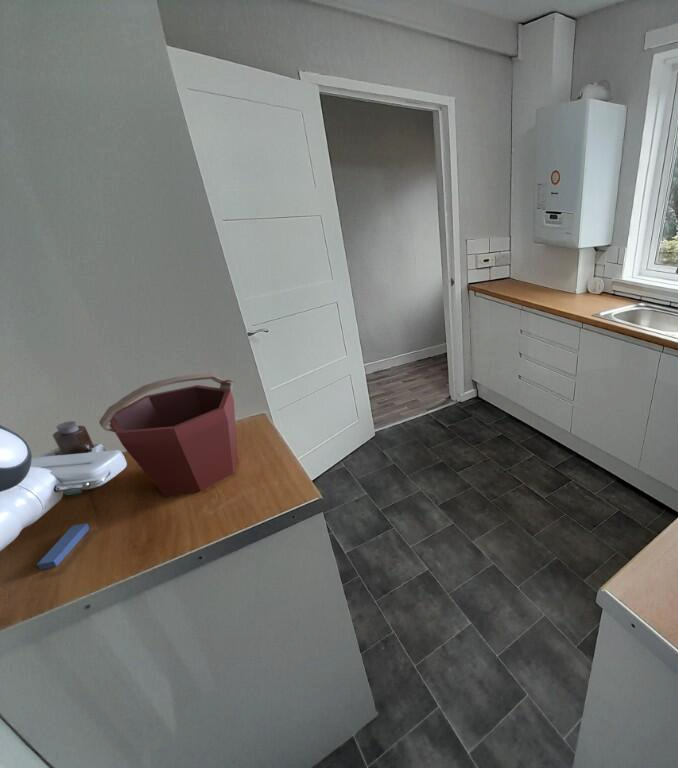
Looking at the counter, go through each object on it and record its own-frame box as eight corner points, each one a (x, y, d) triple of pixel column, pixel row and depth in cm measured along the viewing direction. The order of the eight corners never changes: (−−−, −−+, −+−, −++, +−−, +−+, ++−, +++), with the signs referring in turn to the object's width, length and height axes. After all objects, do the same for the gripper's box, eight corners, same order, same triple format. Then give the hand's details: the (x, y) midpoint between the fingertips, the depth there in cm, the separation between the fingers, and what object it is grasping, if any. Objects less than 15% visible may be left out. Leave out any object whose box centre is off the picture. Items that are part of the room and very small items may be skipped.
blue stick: (59, 571, 74) (53, 561, 73) (42, 574, 73) (36, 564, 72) (92, 532, 82) (87, 522, 81) (77, 534, 82) (72, 525, 81)
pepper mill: (80, 494, 80) (49, 432, 74) (78, 485, 82) (48, 424, 77) (111, 484, 83) (83, 424, 77) (108, 475, 85) (81, 416, 80)
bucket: (250, 437, 115) (225, 354, 104) (264, 477, 99) (235, 385, 88) (137, 469, 101) (94, 378, 90) (132, 521, 85) (79, 418, 75)
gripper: (89, 470, 69) (138, 429, 81) (-66, 485, 64) (10, 440, 76) (104, 500, 71) (148, 456, 83) (-45, 517, 67) (26, 468, 79)
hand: (81, 448), depth 80 cm, fingers closed on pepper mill, 4 cm apart
